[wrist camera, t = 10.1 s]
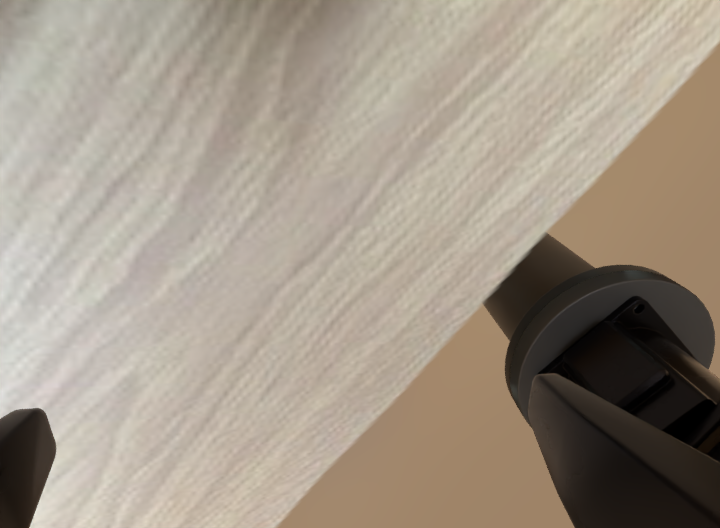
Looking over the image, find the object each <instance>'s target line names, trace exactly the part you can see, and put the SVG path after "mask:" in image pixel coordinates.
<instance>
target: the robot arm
mask: <svg viewBox="0 0 720 528" xmlns="http://www.w3.org/2000/svg"><path fill="white" fill-rule="evenodd" d="M637 305H639V306H638V307H637V308H636V309H634V308H635V307H636V306H637ZM528 417H529V421H530V423H531V426H532V429H533V431H534V434H535V436H536V439H537V442H538V444H539V447H540V449H541V452H542V455H543V457H544V460H545V462H546V465H547V468H548V470H549V473H550V475H551V478H552V480H553V483H554V485H555V488H556V490H557V493H558V495H559V497H560V499H561V501H562V503H563V505H564V507H565V509H566V511H567V513H568V515H569V517H570V519H571V521H572V523H573V525H574V527H575V528H720V379H719V378H718V377H717V376H715V375H714V374H713V373H712V372H710V371H709V370H708V369H706V368H705V367H704V366H703V365H701V364H700V362H699V361H698V360H697V359H696V358H695V357H694V355H693V354H692V353H691V352H690V351H689V350H688V348H687V347H686V346H685V345H684V344H683V343H682V341H681V340H680V339H679V338H678V337H677V335H676V334H675V333H674V332H673V331H672V330H671V328H670V327H669V326H668V325H667V324H666V323H665V321H664V320H663V319H662V318H661V317H660V316H659V314H658V313H657V312H656V311H655V310H654V308H653V307H652V306H651V305H650V304H649V303H648V302H647V301H646V300H645V299H643V298H642V297H640V296H633V297H631V298H629V299H628V300H627V301H625V302H624V303H623V304H622V305H620V306H619V307H618V308H617V309H616V310H614V311H613V312H612V313H611V314H609V315H608V316H607V317H606V318H605V319H603V320H602V321H601V322H600V323H598V324H597V325H596V326H595V327H594V328H592V329H591V330H590V331H589V332H587V333H586V334H585V335H584V336H582V337H581V338H580V339H579V340H578V341H576V342H575V343H574V344H573V345H571V346H570V347H569V348H568V349H567V350H565V351H564V352H563V353H562V354H560V355H559V356H558V357H557V358H556V359H554V360H553V361H552V362H551V363H549V364H548V365H547V366H546V367H545V368H543V369H542V370H541V371H540V372H538V374H537V375H536V376H535V377H534V379H533V382H532V388H531V393H530V399H529V405H528ZM55 454H56V443H55V440H54V437H53V434H52V431H51V427H50V424H49V421H48V418H47V415H46V413H45V412H44V411H43V410H42V409H39V408H33V409H19V410H15V411H13V412H11V413H9V414H8V415H6V416H4V417H3V418H1V419H0V528H29V527H30V524H31V521H32V519H33V516H34V513H35V510H36V508H37V505H38V502H39V500H40V497H41V494H42V491H43V489H44V486H45V483H46V480H47V478H48V475H49V472H50V469H51V467H52V464H53V461H54V458H55Z"/></svg>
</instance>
